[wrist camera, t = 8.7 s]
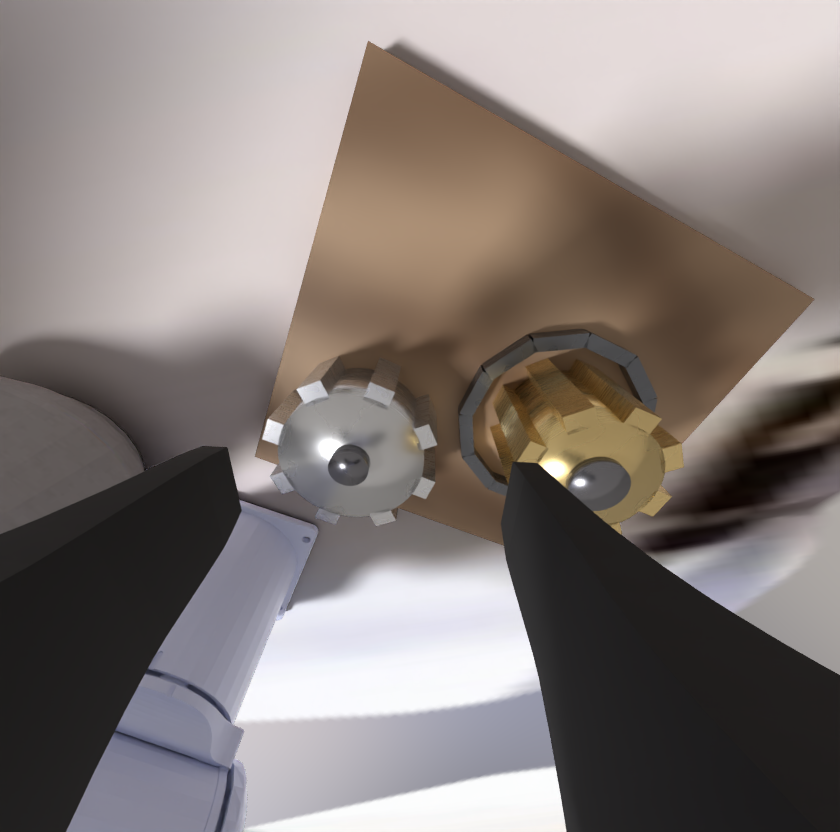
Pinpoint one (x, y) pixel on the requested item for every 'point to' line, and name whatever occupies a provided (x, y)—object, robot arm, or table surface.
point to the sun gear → (354, 442)
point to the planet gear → (587, 439)
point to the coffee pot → (55, 452)
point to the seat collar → (520, 352)
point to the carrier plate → (507, 276)
